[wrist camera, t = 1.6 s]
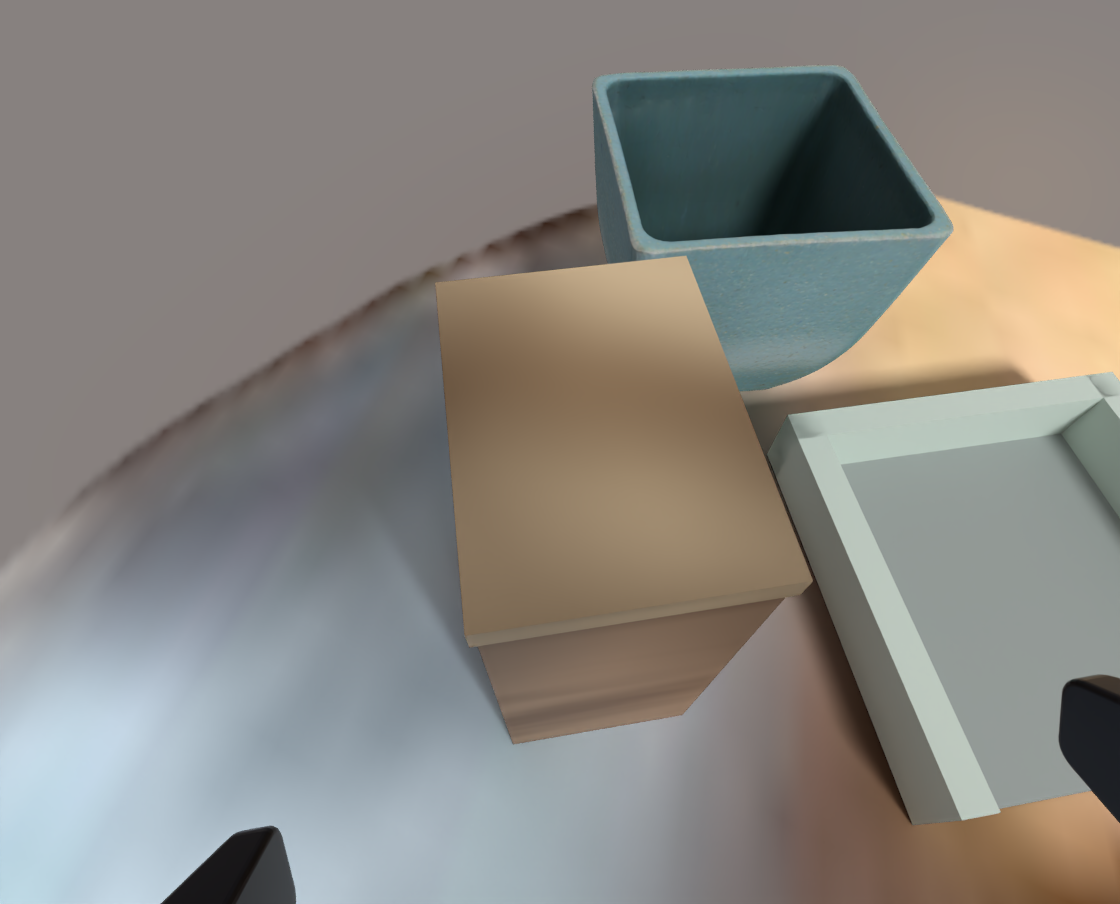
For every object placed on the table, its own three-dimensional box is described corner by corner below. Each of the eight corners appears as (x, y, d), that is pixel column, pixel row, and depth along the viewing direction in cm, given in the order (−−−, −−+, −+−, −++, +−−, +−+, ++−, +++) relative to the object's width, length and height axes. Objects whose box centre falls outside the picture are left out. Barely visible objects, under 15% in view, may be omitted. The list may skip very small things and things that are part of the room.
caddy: (686, 718, 19) (813, 581, 10) (510, 748, 18) (464, 635, 9) (632, 502, 23) (686, 255, 13) (485, 523, 22) (435, 283, 13)
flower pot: (773, 266, 29) (849, 58, 22) (838, 425, 25) (964, 231, 17) (580, 280, 29) (589, 70, 21) (609, 445, 24) (635, 253, 16)
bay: (1303, 748, 19) (1399, 733, 16) (912, 824, 17) (961, 820, 15) (1065, 413, 25) (1112, 372, 23) (766, 454, 24) (787, 414, 22)
